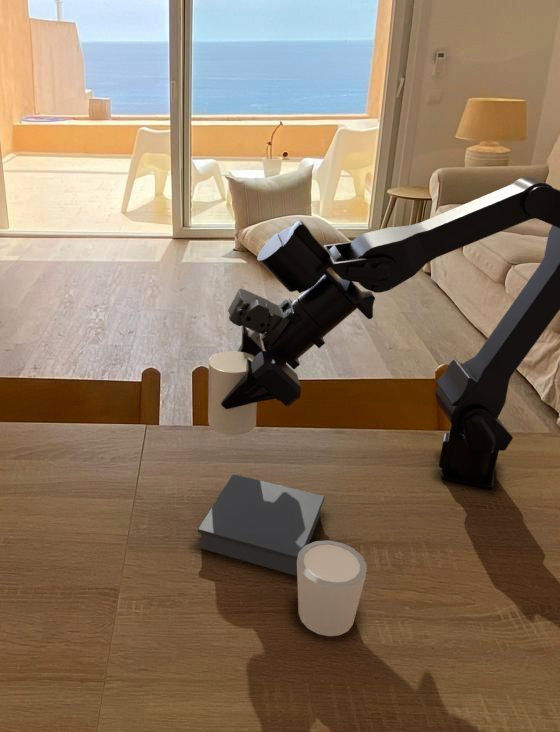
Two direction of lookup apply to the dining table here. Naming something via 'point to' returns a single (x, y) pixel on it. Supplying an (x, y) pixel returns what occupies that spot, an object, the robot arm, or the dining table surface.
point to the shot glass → (329, 586)
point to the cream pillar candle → (222, 380)
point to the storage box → (261, 523)
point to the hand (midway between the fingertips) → (222, 393)
